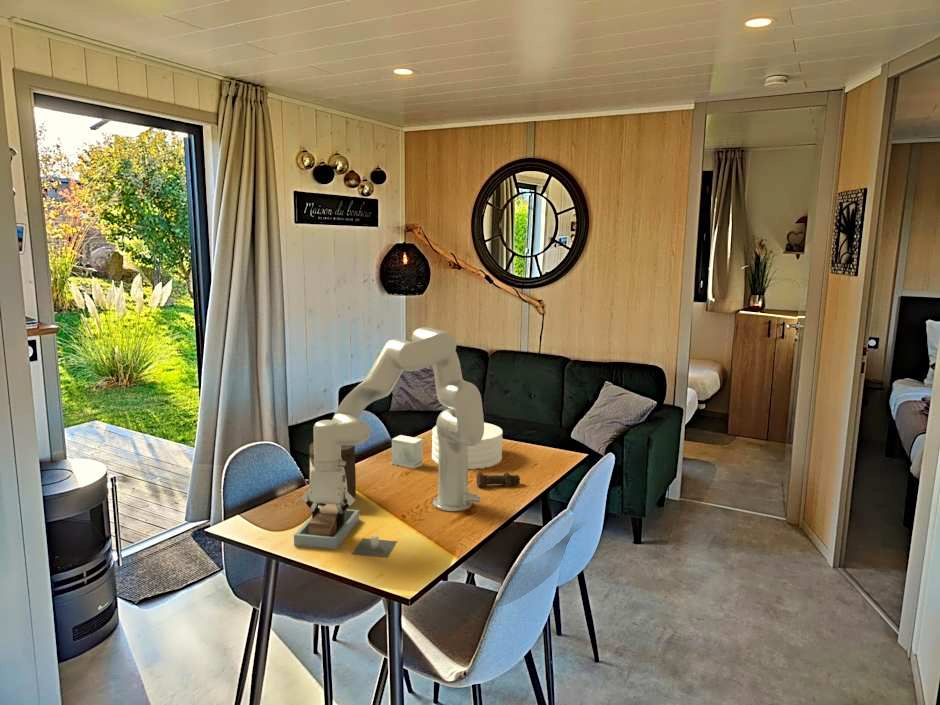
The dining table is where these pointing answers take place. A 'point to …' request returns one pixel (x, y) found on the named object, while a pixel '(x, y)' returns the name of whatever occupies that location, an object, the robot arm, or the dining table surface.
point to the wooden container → (349, 468)
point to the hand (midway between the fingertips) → (328, 523)
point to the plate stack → (478, 448)
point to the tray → (325, 541)
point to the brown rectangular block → (326, 521)
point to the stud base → (376, 552)
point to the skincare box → (407, 451)
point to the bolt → (497, 479)
